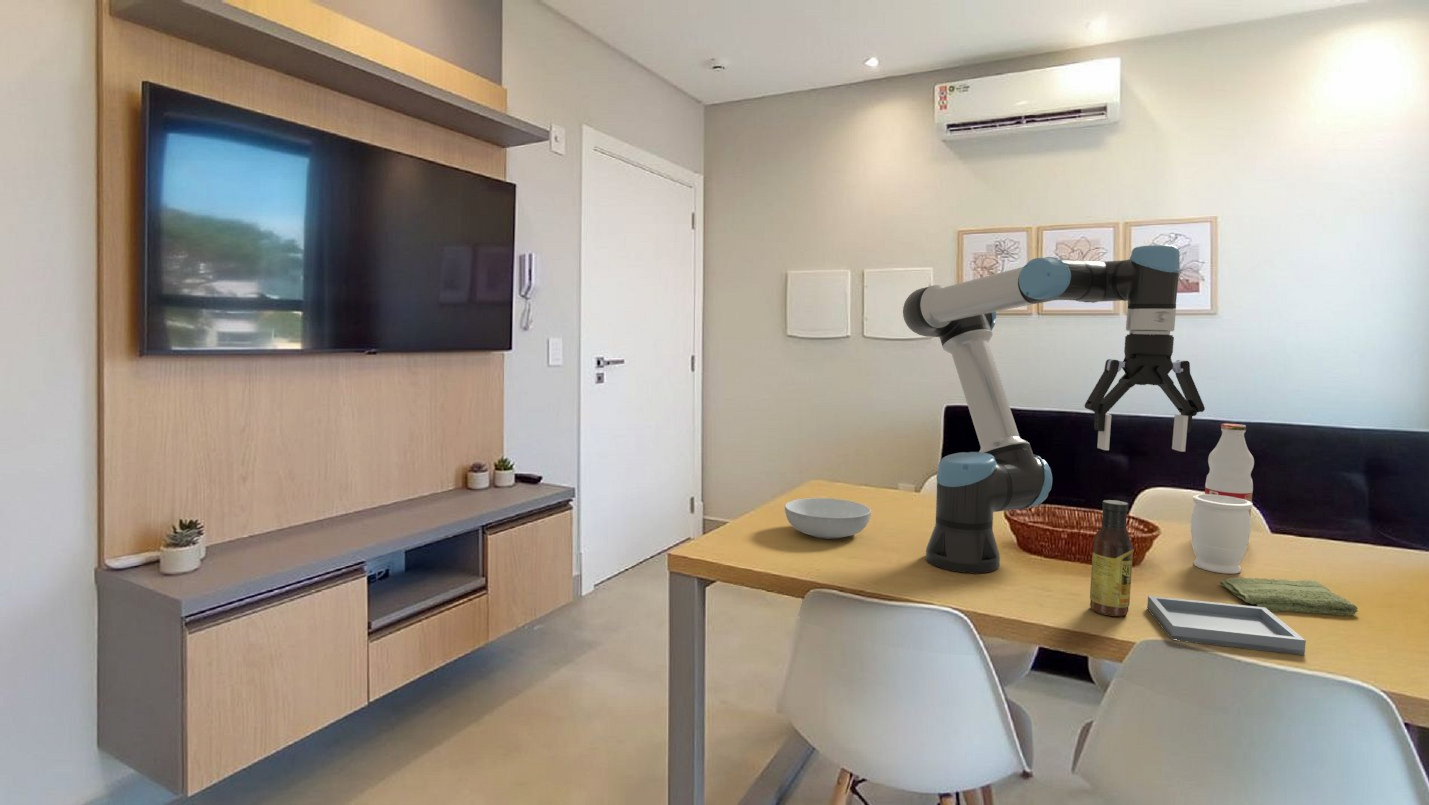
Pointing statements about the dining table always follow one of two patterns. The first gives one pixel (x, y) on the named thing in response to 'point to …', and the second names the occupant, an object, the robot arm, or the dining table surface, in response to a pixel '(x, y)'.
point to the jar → (1220, 532)
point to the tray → (1225, 625)
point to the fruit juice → (1231, 465)
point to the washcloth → (1289, 596)
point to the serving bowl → (827, 517)
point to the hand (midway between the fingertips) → (1140, 449)
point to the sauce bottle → (1112, 562)
